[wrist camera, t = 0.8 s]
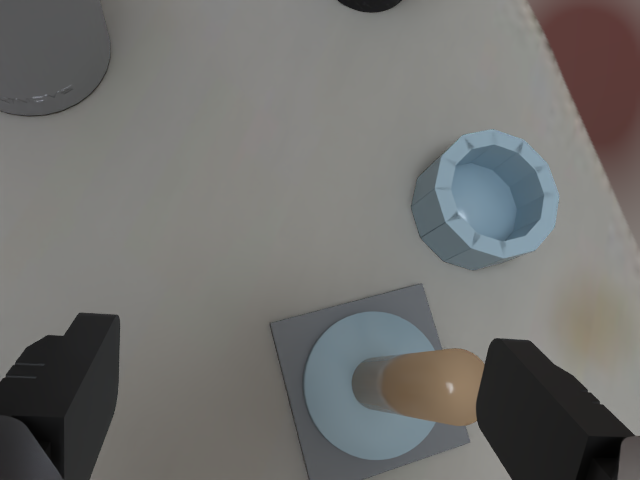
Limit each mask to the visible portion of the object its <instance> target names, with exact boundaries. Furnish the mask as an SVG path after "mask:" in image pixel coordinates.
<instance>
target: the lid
mask: <svg viewBox="0 0 640 480" xmlns="http://www.w3.org/2000/svg"><path fill="white" fill-rule="evenodd" d="M484 365H485V364H484V363H483V362H482V361H481V359H479V358H478V357H477V356H476V355H474V354H473V353H471V352H469V351H467V350H463V349H456V348H455V349H444V350H434V348H433V346H432V344H431V343H430V341H429V340H428V339H427V338H426V336H425V335H424V334H423V333H422V332H421V331H420V330H419V329H418V328H417V327H416V326H414V325H413V324H411V323H410V322H408V321H407V320H405V319H403V318H401V317H399V316H396V315H393V314H390V313H385V312H376V311H372V312H362V313H357V314H354V315H351V316H348V317H346V318H343V319H341V320H339V321H337V322H336V323H334V324H333V325H331V326H330V327H329V328H328V329H326V330H325V331H324V332H323V333H322V334H321V335H320V337H319V338H318V339H317V340H316V342H315V343H314V345H313V347H312V348H311V350H310V353H309V355H308V357H307V360H306V363H305V367H304V372H303V396H304V401H305V405H306V408H307V411H308V414H309V416H310V418H311V420H312V422H313V424H314V425H315V427H316V428H317V430H318V431H319V432H320V433H321V434H322V436H323V437H324V438H325V439H326V440H327V441H329V442H330V443H331V444H332V445H334V446H335V447H337V448H338V449H340V450H342V451H344V452H346V453H348V454H350V455H352V456H355V457H358V458H362V459H368V460H384V459H390V458H394V457H397V456H400V455H402V454H405V453H407V452H408V451H410V450H412V449H413V448H415V447H416V446H417V445H418V444H419V443H421V442H422V441H423V440H424V438H425V437H426V436H427V435H428V434H429V432H430V431H431V430H432V428H433V426H434V425H435V423H436V422H438V423H443V424H449V425H454V426H465V425H469V424H472V423H474V422H476V421H477V417H476V400H477V395H478V391H479V387H480V382H481V378H482V374H483V370H484Z"/></svg>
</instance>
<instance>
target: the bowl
mask: <svg viewBox="0 0 640 480" xmlns="http://www.w3.org/2000/svg"><path fill="white" fill-rule="evenodd" d="M558 201H559V193H558V191H557V188H556V185H555V182H554V179H553V177H552V174H551V171H550V168H549V165H548V163H547V162H546V161H545V160H544V159H543V158H542V157H541V156H540V155H539V154H538V153H537V152H536V151H535V150H534V149H533V148H532V147H531V146H530V145H529V144H528V143H527V142H526V141H525V140H523V139H520V138H517V137H515V136H512V135H509V134H506V133H503V132H500V131H497V130H494V129H491V130H486V131H481V132H475V133H470V134H465V135H462V136H461V137H460V138H459V139H458V140H457V141H456V142H455V143H454V144H452V145H451V146H450V147H449V148H448V149H447V150H446V151H445V152H444V153H443V154H442V155H440V156H439V157H438V158H437V159H436V160H435V161H434V162H433V163H432V164H431V165H430V166H429V167H428V168H427V169H426V170H425V171H424V172H423V173H422V174H421V175H420V176H419V177H418V178H417V182H416V187H415V191H414V196H413V200H412V205H411V209H412V212H413V215H414V219H415V222H416V225H417V228H418V232H419V235H420V238H421V239H422V240H423V241H424V242H425V243H426V244H427V245H428V246H429V247H430V248H431V249H432V250H433V251H434V252H435V253H436V254H437V255H438V256H439V257H440V258H441V259H442V260H443V261H444V262H447V263H451V264H454V265H457V266H460V267H464V268H467V269H470V270H477V269H481V268H485V267H489V266H492V265H496V264H500V263H503V262H506V261H508V260H511V259H514V258H516V257H519V256H522V255H524V254H527V253H530V252H532V251H535V250H536V249H537V247H538V246H539V245H540V244H541V243H542V242H543V240H544V239H545V238H546V237H547V236H548V235H549V233H550V232H551V231H552V230H553V229H554V227H555V222H556V215H557V208H558Z"/></svg>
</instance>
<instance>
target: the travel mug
mask: <svg viewBox="0 0 640 480" xmlns="http://www.w3.org/2000/svg"><path fill="white" fill-rule="evenodd" d="M338 1H339V2H341V3H343V4H344V5H346V6H348V7H350V8H353V9H356V10H359V11H364V12H379V11H384V10H387V9H389V8H392V7H393V6H395V5H397V4H398V3H399V2H400V1H401V0H338Z"/></svg>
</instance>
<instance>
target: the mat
mask: <svg viewBox="0 0 640 480" xmlns="http://www.w3.org/2000/svg"><path fill="white" fill-rule="evenodd" d="M372 311H376V312H385V313H390V314H393V315H396V316H399V317H401V318H403V319H405V320H407V321H408V322H410V323H411V324H413V325H414V326H416V327H417V328H418V329H419V330H420V331H421V332H422V333H423V334H424V335H425V336H426V338H427V339H428V340H429V341H430V343H431V344H432V346H433V348H434V350H442V347H441V344H440V341H439V337H438V334H437V331H436V328H435V324H434V321H433V318H432V314H431V311H430V308H429V305H428V301H427V298H426V295H425V291H424V288H423V285H422V284H418V285H414V286H411V287H407V288H403V289H399V290H395V291H391V292H388V293H384V294H380V295H376V296H372V297H368V298H365V299H361V300H357V301H353V302H349V303H345V304H342V305H338V306H334V307H330V308H326V309H322V310H319V311H315V312H311V313H307V314H303V315H299V316H296V317H292V318H288V319H284V320H280V321H276V322H273V323H270V327H271V331H272V335H273V339H274V343H275V347H276V351H277V355H278V359H279V363H280V367H281V371H282V374H283V378H284V382H285V386H286V390H287V394H288V398H289V402H290V406H291V410H292V414H293V418H294V422H295V426H296V430H297V434H298V438H299V442H300V445H301V449H302V453H303V457H304V461H305V465H306V469H307V473H308V477H309V480H363V479H366V478H369V477H372V476H374V475H377V474H380V473H383V472H386V471H389V470H392V469H395V468H398V467H400V466H403V465H406V464H409V463H412V462H415V461H418V460H421V459H424V458H426V457H429V456H432V455H435V454H438V453H441V452H444V451H447V450H449V449H452V448H455V447H458V446H461V445H464V444H467V443H470V439H469V436H468V433H467V429H466V426H454V425H449V424H443V423H438V422H436V423H435V425H434V426H433V428H432V430H431V431H430V432H429V434H428V435H427V436H426V437H425V438H424V440H423V441H422V442H421V443H419V444H418V445H417V446H416V447H415V448H413V449H412V450H410V451H408V452H407V453H405V454H402V455H400V456H397V457H394V458H390V459H384V460H368V459H362V458H358V457H355V456H352V455H350V454H348V453H346V452H344V451H342V450H340V449H338V448H337V447H335V446H334V445H332V444H331V443H330V442H329V441H327V440H326V439H325V438H324V437H323V436H322V434H321V433H320V432H319V431H318V430H317V428H316V427H315V425H314V424H313V422H312V420H311V418H310V416H309V414H308V411H307V408H306V405H305V401H304V396H303V372H304V367H305V363H306V360H307V357H308V355H309V353H310V350H311V348H312V347H313V345H314V343H315V342H316V340H317V339H318V338H319V337H320V335H321V334H322V333H323V332H324V331H325V330H326V329H328V328H329V327H330V326H331V325H333V324H334V323H336V322H337V321H339V320H341V319H343V318H346V317H348V316H351V315H354V314H357V313H362V312H372Z"/></svg>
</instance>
